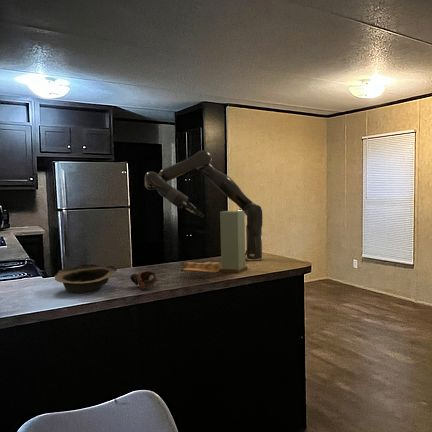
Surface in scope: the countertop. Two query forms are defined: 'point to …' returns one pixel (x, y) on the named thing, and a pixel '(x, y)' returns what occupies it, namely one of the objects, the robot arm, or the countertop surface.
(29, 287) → the countertop surface
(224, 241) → the stand
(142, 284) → the pottery mug
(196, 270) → the mat
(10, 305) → the countertop surface
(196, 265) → the tan bread loaf
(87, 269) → the stone bowl
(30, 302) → the countertop surface
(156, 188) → the robot arm
